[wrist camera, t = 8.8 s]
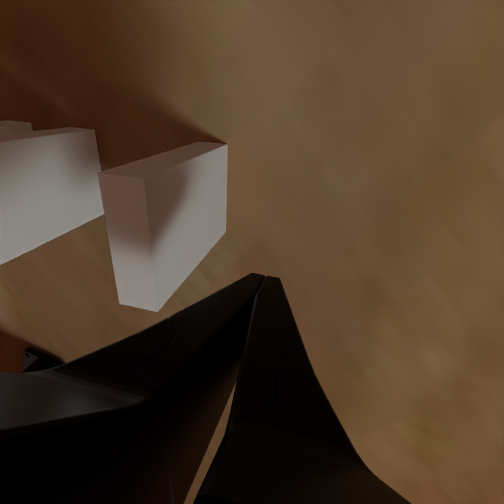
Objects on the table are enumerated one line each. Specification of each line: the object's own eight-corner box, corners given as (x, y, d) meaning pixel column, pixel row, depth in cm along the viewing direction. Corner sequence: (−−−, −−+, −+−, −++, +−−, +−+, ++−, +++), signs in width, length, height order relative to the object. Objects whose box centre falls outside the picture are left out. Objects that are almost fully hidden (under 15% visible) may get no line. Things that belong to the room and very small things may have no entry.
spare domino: (227, 144, 16) (143, 178, 9) (225, 231, 19) (157, 311, 12) (197, 141, 17) (95, 172, 10) (199, 227, 19) (117, 303, 12)
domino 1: (94, 129, 18) (-63, 150, 11) (107, 212, 20) (-16, 272, 13) (69, 126, 18) (-99, 145, 11) (85, 208, 20) (-47, 265, 14)
